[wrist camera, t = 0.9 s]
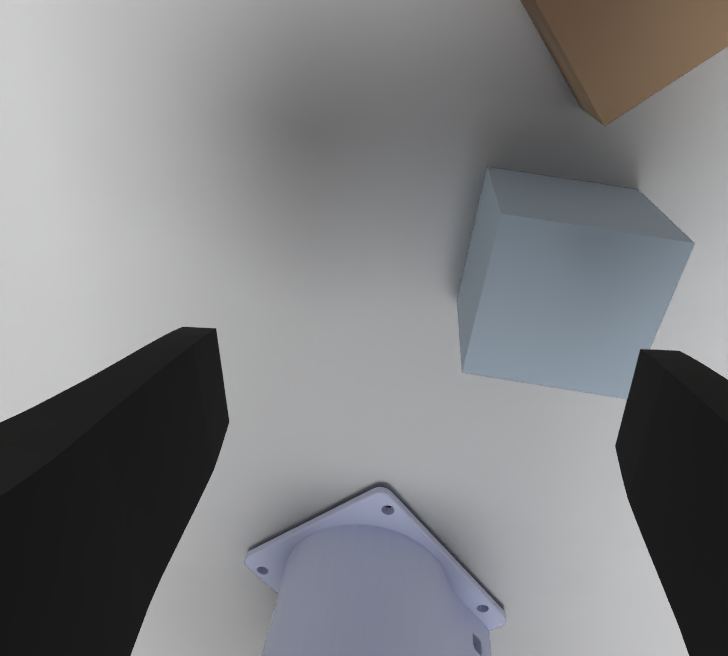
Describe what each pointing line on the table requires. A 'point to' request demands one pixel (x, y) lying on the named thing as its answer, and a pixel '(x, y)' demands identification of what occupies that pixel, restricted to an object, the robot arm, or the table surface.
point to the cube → (565, 282)
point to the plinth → (627, 46)
